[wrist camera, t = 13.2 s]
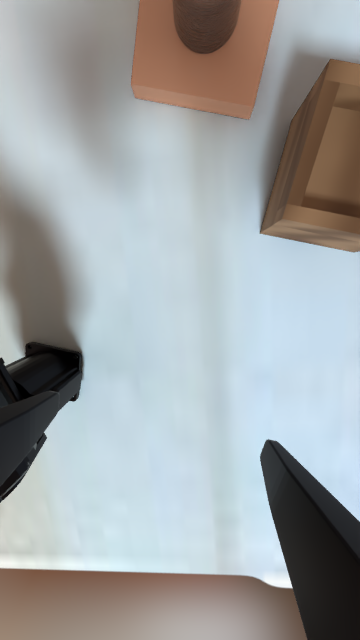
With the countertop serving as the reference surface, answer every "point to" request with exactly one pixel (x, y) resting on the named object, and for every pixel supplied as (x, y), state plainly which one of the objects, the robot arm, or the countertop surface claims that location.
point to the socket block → (321, 166)
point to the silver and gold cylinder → (205, 23)
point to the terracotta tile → (201, 61)
